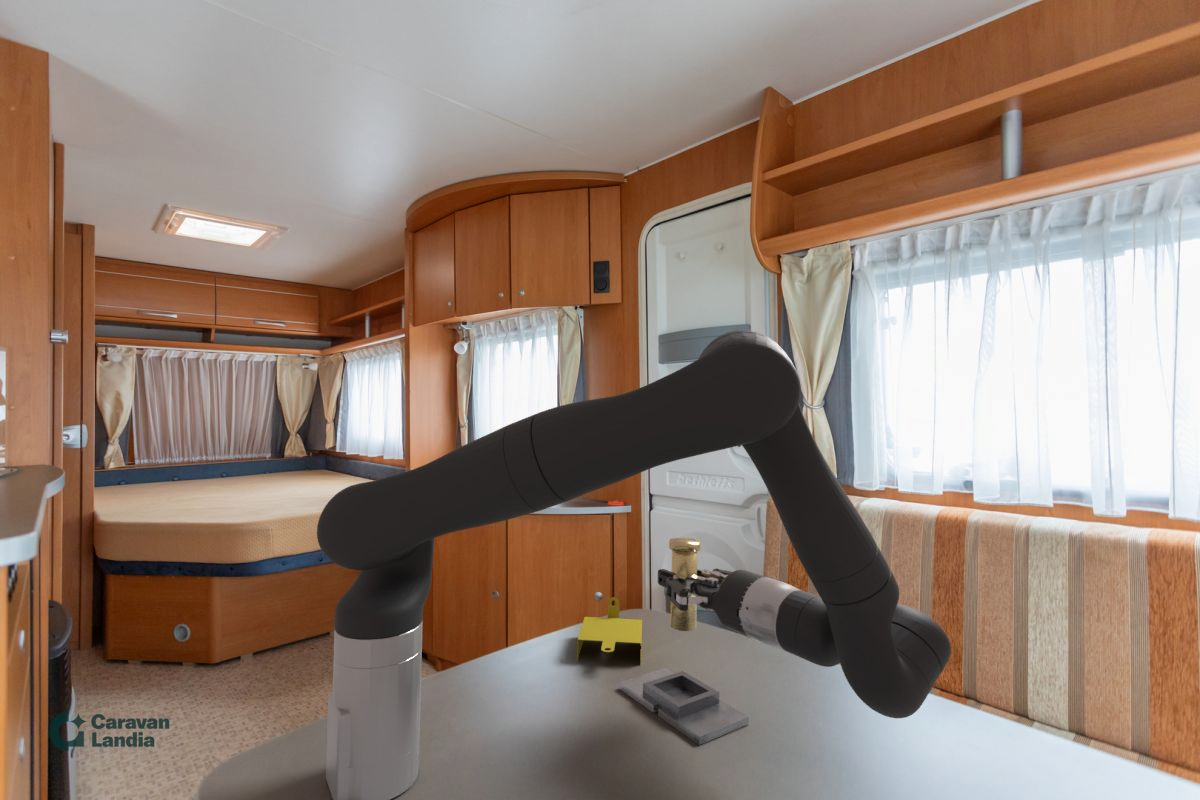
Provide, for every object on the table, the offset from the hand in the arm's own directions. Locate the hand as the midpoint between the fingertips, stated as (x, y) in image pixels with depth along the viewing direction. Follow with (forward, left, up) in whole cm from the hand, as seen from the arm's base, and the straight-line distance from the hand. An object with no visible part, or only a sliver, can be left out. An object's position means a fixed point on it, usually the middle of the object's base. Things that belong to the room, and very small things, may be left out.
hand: (670, 574), depth 85 cm
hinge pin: (0, -3, -7) cm, 7 cm away
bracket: (+1, +16, -19) cm, 25 cm away
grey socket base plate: (0, -3, -18) cm, 18 cm away
